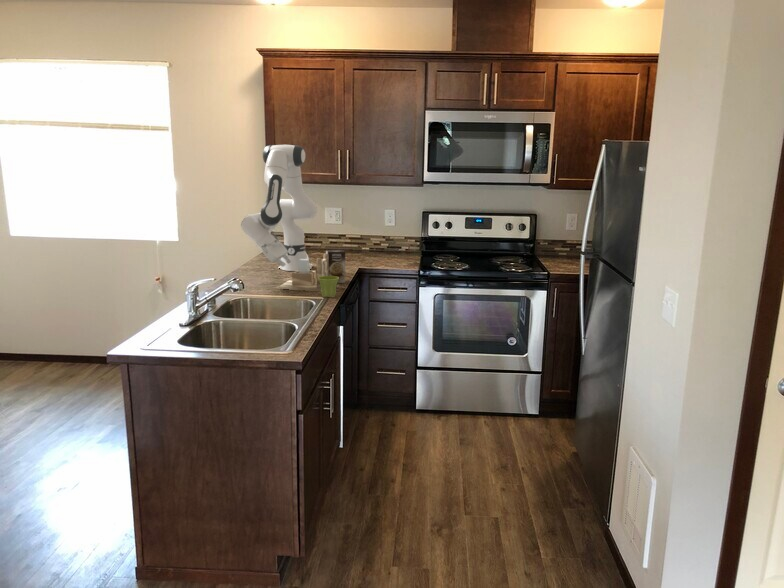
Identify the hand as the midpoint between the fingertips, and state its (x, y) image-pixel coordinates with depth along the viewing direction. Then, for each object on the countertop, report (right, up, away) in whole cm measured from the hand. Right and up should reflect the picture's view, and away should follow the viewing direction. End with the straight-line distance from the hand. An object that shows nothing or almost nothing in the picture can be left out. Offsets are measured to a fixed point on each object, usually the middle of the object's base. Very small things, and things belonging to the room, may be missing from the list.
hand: (287, 264), depth 299 cm
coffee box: (+22, -9, +15) cm, 28 cm away
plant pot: (+22, -16, -17) cm, 32 cm away
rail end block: (+8, -10, +1) cm, 13 cm away
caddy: (+8, -11, +1) cm, 14 cm away
